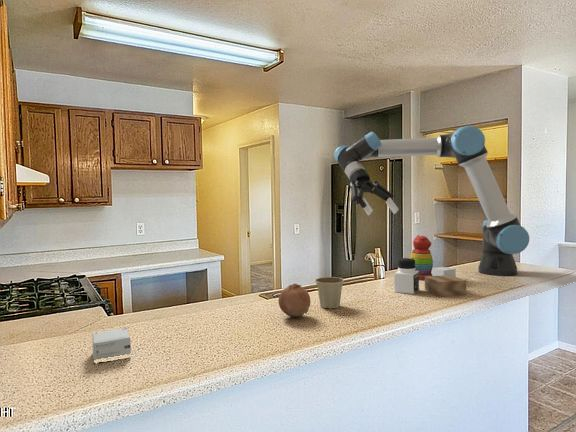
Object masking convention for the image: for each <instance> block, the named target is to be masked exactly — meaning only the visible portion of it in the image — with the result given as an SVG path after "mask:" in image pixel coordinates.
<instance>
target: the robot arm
mask: <svg viewBox="0 0 576 432" xmlns="http://www.w3.org/2000/svg"><path fill="white" fill-rule="evenodd" d="M485 143H486V137H485V134H484V132H483V131H482V129H479V128H478V127H477V126H475V125H465V126H461V127H459V128H457V129H456V130H454V132H451V133H447V134H438V135H437V136H436V137H420V138H419V137H418V138H399V139H396V138H395V139H380V138H379V137H378V135H377V134H376V133H375V132H374V131H370V132H369V133H367V134H365V135H364V136H363V137H361V138H360V139H359V140H357V141H356V142H354V143H353V144H351V145H350V146H348V145H347V144H346V145H345V144H343V145H341V146H339V147H337V148H336V149H335V151H334V153H333V156H334V159H335V160H336V162H337V164H338V165H339V166H340V168H341V169H342V171H343V172H344V173H345V175H346V176H347V178H348V179H349V181H350V183H349V188H350V192H351V200H352V202H355V204H357V205H359V206H360V208H362V209H363V210H364V211H365V213H366V214H367V216H371V214H372V213H373V211H374V209H373V208H372V207H371V206H370V204H369V202H368V201H367V200H366V198H365V197H364V198H363V196H364V193H369V194H374V195H375V196H377V197H379V198H380V199H382V200H384V201H385V204H386V206H387V207H388V208H389V209H390V212H392V213H393V215H396V214H397V212H398V211H399V207H398V206H397V204H396V203H395V201H394V200H393V199H394V194H393V193H391V192H390V191H389V190H387V189H386V188H385V187H384V186H383V185H381V184H380V183H379V182H378V181H377V180H375V181H373V182H372V180H371V178H370V174H369V173H368V172H367V170H366V169H365V167H364V166H363V165H362V163H361V162H360V161H362V160H363V159H368V158H382V157H383V158H384V157H385V158H386V157H415V156H416V157H417V156H436V157H438V158H452V159H454V158H455V160H456V163H457V164H458V166H460V167H463V168H464V170H465V172H466V174H467V177H468V179H469V182H470V184H471V185H472V188H473V190H474V192H475V195H476V197H477V199H478V202H479V203H480V206H481V208H482V210H483V212H484V215H485V216H486V219H487V220H484V221H483V223H482V256H481V257H480V261H479V264H478V267H477V269H478V270H477V271H478V272H479V273H481V274H484V275H490V276H491V275H492V276H514V275H518V267H517V264H516V261H515V257H514V255H517V254H519V253H522V252H523V251H525V250H526V248H527V247H528V245H529V243H530V235H529V232H528V231H527V229H526V228H525V227H524V226H522V225H521V223H520V221H519V218H518V216H517V215H516V214H513V213H511V212H510V209H509V206H508V205H507V202H506V200H505V197H504V196H503V194H502V191H501V189H500V187H499V185H498V182H497V180H496V177H495V175H494V174H493V171H492V169H491V167H490V164H489V163H488V160H487V156H488V154H489V152H488V150H487V147H486V144H485Z"/></svg>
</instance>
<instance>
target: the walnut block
mask: <svg viewBox="0 0 576 432" xmlns="http://www.w3.org/2000/svg"><path fill="white" fill-rule="evenodd" d="M424 291H426V292H428V293H430V294H433V295H435V296H437V297H438V298H439V297H455V296H466V295H467V280H465V279H463V278H460V277H457V276H456V277H454V276H452V275H442V276H425V280H424Z"/></svg>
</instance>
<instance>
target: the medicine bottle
mask: <svg viewBox="0 0 576 432" xmlns="http://www.w3.org/2000/svg"><path fill="white" fill-rule="evenodd" d="M414 270H415V260H414V259H412V258H410V257H401V258H398V259H397V271H396V272H394V273H393V275H394V277H393V278H394V279H393V281H394V282H393V283H394V286H393V287H394V293H400V294H409V295H415V294H416V293H417V292H419V290H420V280H419V271H414Z"/></svg>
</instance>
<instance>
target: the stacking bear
mask: <svg viewBox="0 0 576 432" xmlns="http://www.w3.org/2000/svg"><path fill="white" fill-rule="evenodd" d="M412 245H413V248H414V249H413V250H412V251H411V252H410V255H409V258H412V259H414V260H415V270H414V271H419V281H425V276H432V268H434V266H433V265H434V261H433V256H432V253H431V250H430V248H431V246H432V242H431V241H430V239H429V238H428V237H427V236H425V235H419V234H418V235H416V237H414V239H413V241H412Z"/></svg>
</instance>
